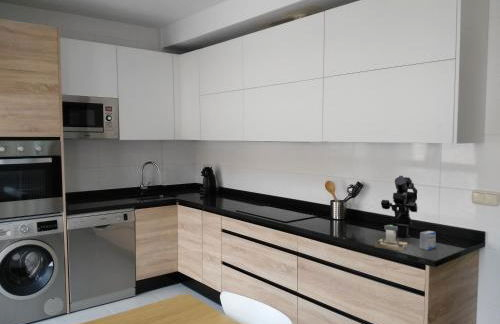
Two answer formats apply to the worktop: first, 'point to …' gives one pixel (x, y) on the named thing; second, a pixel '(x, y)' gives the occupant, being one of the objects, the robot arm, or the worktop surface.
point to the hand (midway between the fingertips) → (396, 218)
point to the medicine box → (427, 240)
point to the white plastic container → (390, 233)
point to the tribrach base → (391, 244)
